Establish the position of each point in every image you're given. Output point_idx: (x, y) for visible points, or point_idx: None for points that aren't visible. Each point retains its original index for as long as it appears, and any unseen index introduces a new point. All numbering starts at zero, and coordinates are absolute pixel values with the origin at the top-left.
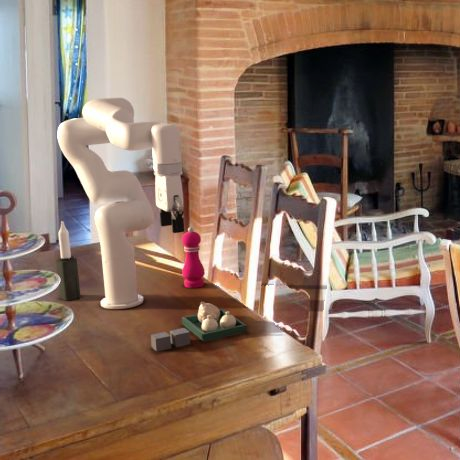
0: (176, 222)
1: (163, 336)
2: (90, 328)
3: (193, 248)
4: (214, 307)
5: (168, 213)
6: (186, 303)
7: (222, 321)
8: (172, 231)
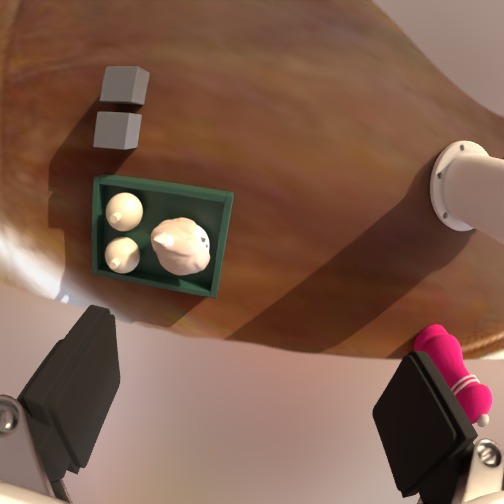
0: (28, 386)
1: (107, 86)
2: (376, 44)
3: (455, 392)
4: (166, 264)
5: (409, 475)
6: (363, 279)
7: (115, 241)
8: (101, 311)
